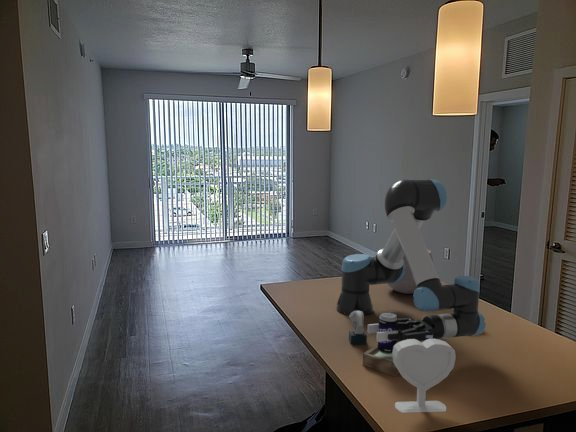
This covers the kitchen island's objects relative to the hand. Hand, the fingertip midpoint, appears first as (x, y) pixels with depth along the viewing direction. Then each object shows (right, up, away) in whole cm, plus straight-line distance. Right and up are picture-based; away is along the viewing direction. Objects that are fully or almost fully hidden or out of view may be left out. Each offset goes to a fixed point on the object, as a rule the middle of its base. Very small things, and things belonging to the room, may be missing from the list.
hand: (372, 332), depth 136 cm
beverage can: (+5, -7, +2) cm, 9 cm away
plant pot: (+31, -1, +78) cm, 84 cm away
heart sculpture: (+9, -14, -20) cm, 26 cm away
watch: (-2, -8, +20) cm, 22 cm away
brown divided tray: (+8, -10, +6) cm, 14 cm away
